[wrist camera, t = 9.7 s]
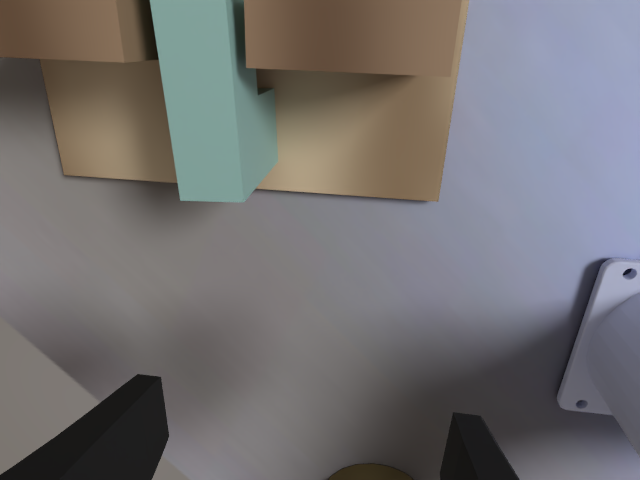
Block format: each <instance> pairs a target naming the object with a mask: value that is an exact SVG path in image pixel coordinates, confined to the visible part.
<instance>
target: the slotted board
mask: <svg viewBox="0 0 640 480" xmlns="http://www.w3.org/2000/svg"><path fill="white" fill-rule="evenodd" d="M468 4H469V0H244V15H245V46H246V68H256V78H257V88H274V93H275V111H276V129H277V147H278V162H277V163H276V165H275V166H274V167H273V168H272V169H271V171H270V172H269V173H268V174H267V175H266V177H265V178H264V179H263V180H262V181H261V183H260V184H259V185H258V186H257V187H256V189H269V190H283V191H297V192H311V193H325V194H339V195H353V196H367V197H381V198H395V199H409V200H423V201H437V202H438V200H439V194H440V187H441V181H442V174H443V168H444V161H445V155H446V148H447V141H448V135H449V128H450V122H451V115H452V109H453V102H454V96H455V89H456V83H457V76H458V70H459V63H460V57H461V50H462V43H463V37H464V30H465V24H466V17H467V11H468ZM0 57H10V58H33V59H40V64H41V68H42V73H43V78H44V83H45V87H46V92H47V97H48V101H49V106H50V111H51V116H52V120H53V125H54V130H55V134H56V139H57V144H58V149H59V153H60V158H61V163H62V167H63V172H64V175H72V176H86V177H100V178H114V179H128V180H142V181H156V182H170V183H178V182H177V176H176V169H175V162H174V156H173V149H172V143H171V136H170V130H169V123H168V117H167V110H166V103H165V97H164V90H163V84H162V77H161V71H160V64H159V57H158V51H157V44H156V38H155V31H154V25H153V18H152V12H151V5H150V0H0Z"/></svg>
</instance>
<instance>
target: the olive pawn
mask: <svg viewBox="0 0 640 480" xmlns="http://www.w3.org/2000/svg"><path fill="white" fill-rule="evenodd" d="M329 480H413V479H412V478H411V477H409V476H408V475H407V474H405V473H404V472H401V471H399V470H397V469H394V468H392V467H389V466H383V465H378V464H356V465H353V466H350V467H346V468H343V469H341V470H339V471H338V472H336V473H335V474H333V475H332V476H331V477H330V478H329Z"/></svg>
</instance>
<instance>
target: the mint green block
mask: <svg viewBox="0 0 640 480" xmlns="http://www.w3.org/2000/svg"><path fill="white" fill-rule="evenodd" d="M150 5H151V12H152V18H153V25H154V31H155V38H156V44H157V51H158V57H159V64H160V71H161V77H162V84H163V90H164V97H165V103H166V110H167V117H168V123H169V130H170V136H171V143H172V149H173V156H174V162H175V169H176V176H177V182H178V189H179V195H180V201H211V202H245V200H246V199H247V198H248V197H249V196H250V194H251V193H252V192H253V191H254V190H255V189H256V187H257V186H258V185H259V184H260V183H261V181H262V180H263V179H264V178H265V177H266V175H267V174H268V173H269V172H270V171H271V169H272V168H273V167H274V166H275V165H276V163H277V162H278V147H277V129H276V111H275V93H274V88H257V78H256V68H246V46H245V15H244V0H150Z"/></svg>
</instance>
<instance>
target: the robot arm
mask: <svg viewBox="0 0 640 480" xmlns="http://www.w3.org/2000/svg"><path fill="white" fill-rule="evenodd" d="M630 268H632V271H631V272H630V273H629V274H627V275H623V273H624V271H625V270H627V269H630ZM579 400H583V401H581V402H577V401H579ZM557 401H558V403H559V405H560V407H561V408H563V409H565V410H570V411H579V412H588V413H597V414H606V415H614V417H615V419H616V420H617V422H618V423H619V425H620V427H621V428H622V430H623V431H624V433H625V435H626V436H627V438H628V439H629V441H630V443H631V444H632V446H633V447H634V449H635V451H636V452H637V454H638V455H639V457H640V260H632V259H620V258H613V259H609V260H607V261H605V262H604V263H603V264H602V265H601V267H600V270H599V273H598V276H597V278H596V281H595V284H594V287H593V290H592V293H591V296H590V299H589V302H588V305H587V308H586V311H585V314H584V317H583V320H582V323H581V326H580V329H579V332H578V335H577V338H576V341H575V344H574V347H573V350H572V353H571V356H570V359H569V362H568V365H567V368H566V371H565V374H564V377H563V380H562V383H561V386H560V389H559V392H558V395H557ZM168 438H169V432H168V425H167V418H166V410H165V403H164V396H163V389H162V382H161V377H157V376H149V375H141V374H137V375H136V376H135V377H133V378H132V379H131V380H129V381H128V382H127V383H125V384H124V385H123V386H121V387H120V388H119V389H118V390H116V391H115V392H114V393H112V394H111V395H110V396H109V397H107V398H106V399H105V400H103V401H102V402H101V403H100V404H98V405H97V406H96V407H94V408H93V409H92V410H91V411H89V412H88V413H87V414H85V415H84V416H83V417H81V418H80V419H79V420H77V421H76V422H75V423H73V424H72V425H71V426H69V427H68V428H67V429H65V430H64V431H63V432H61V433H60V434H59V435H57V436H56V437H55V438H53V439H52V440H50V441H49V442H47V443H46V444H44V445H43V446H42V447H40V448H39V449H37V450H36V451H34V452H33V453H32V454H30V455H29V456H27V457H26V458H25V459H23V460H22V461H20V462H19V463H17V464H16V465H15V466H13V467H12V468H10V469H9V470H7V471H6V472H4V473H3V474H1V475H0V480H151V479H152V478H153V475H154V473H155V471H156V468H157V466H158V463H159V461H160V459H161V456H162V453H163V451H164V448H165V446H166V443H167V441H168ZM440 480H520V479H519V478H518V476H517V475H516V473H515V471H514V470H513V468H512V467H511V465H510V463H509V462H508V460H507V459H506V457H505V455H504V454H503V452H502V451H501V449H500V447H499V446H498V444H497V442H496V441H495V439H494V437H493V436H492V434H491V432H490V430H489V429H488V427H487V425H486V423H485V422H484V420H483V419H482V418H481V417H480V416H477V415H469V414H461V413H453V416H452V421H451V425H450V430H449V434H448V439H447V443H446V448H445V452H444V457H443V462H442V466H441V471H440Z"/></svg>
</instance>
